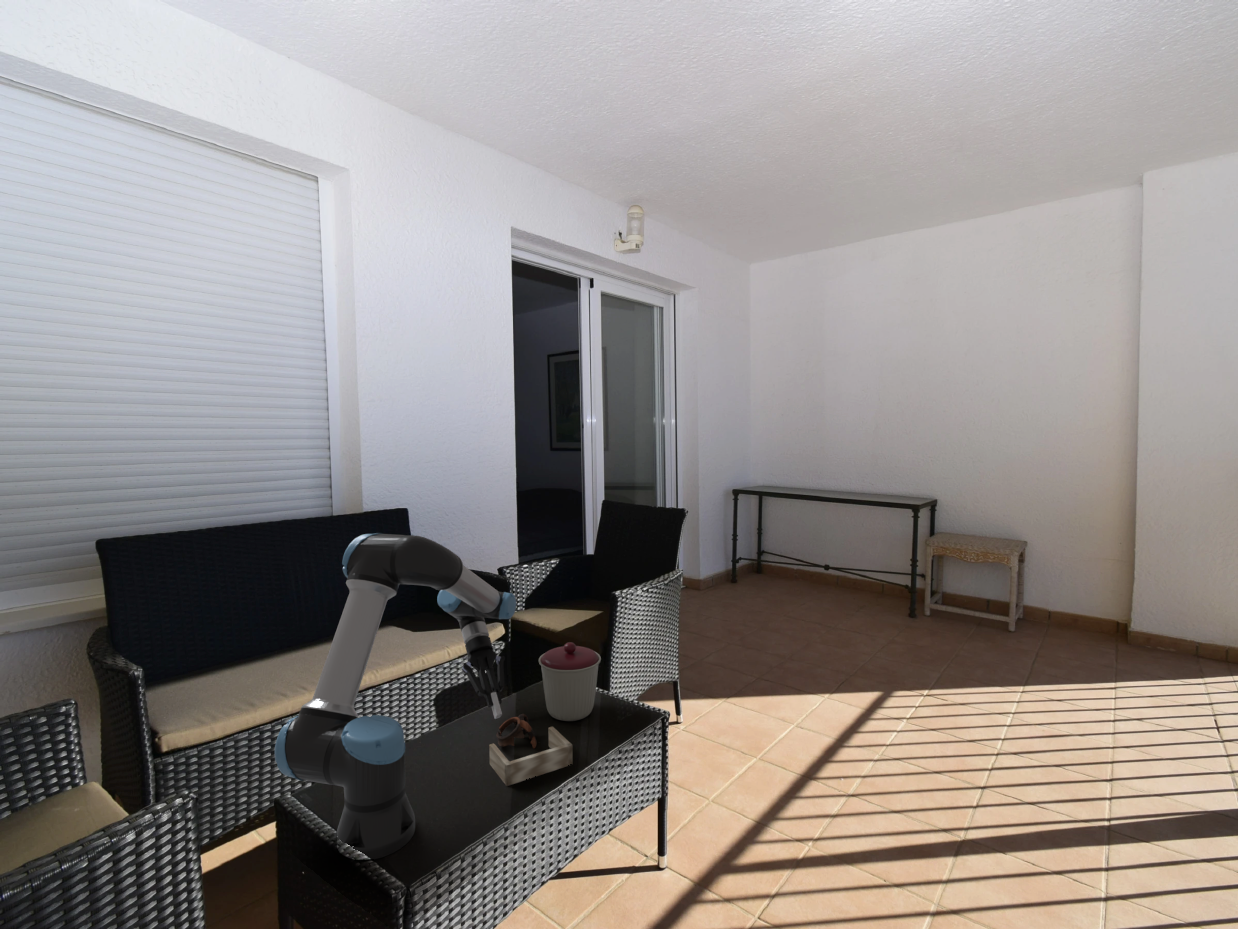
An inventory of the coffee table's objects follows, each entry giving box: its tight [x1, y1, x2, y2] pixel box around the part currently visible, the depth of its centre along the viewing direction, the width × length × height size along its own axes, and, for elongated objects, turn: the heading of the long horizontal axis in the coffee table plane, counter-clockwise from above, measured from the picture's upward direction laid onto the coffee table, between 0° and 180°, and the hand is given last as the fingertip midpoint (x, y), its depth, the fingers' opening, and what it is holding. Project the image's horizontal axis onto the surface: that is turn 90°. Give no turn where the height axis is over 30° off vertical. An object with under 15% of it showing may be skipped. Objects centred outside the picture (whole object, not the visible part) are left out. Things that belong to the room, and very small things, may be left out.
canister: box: [538, 641, 602, 722], centre depth 181 cm, size 18×18×21 cm
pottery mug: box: [495, 713, 537, 750], centre depth 164 cm, size 12×10×8 cm
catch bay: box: [488, 726, 574, 787], centre depth 154 cm, size 17×11×5 cm, turn 122°
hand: (498, 716), depth 173 cm, fingers closed
